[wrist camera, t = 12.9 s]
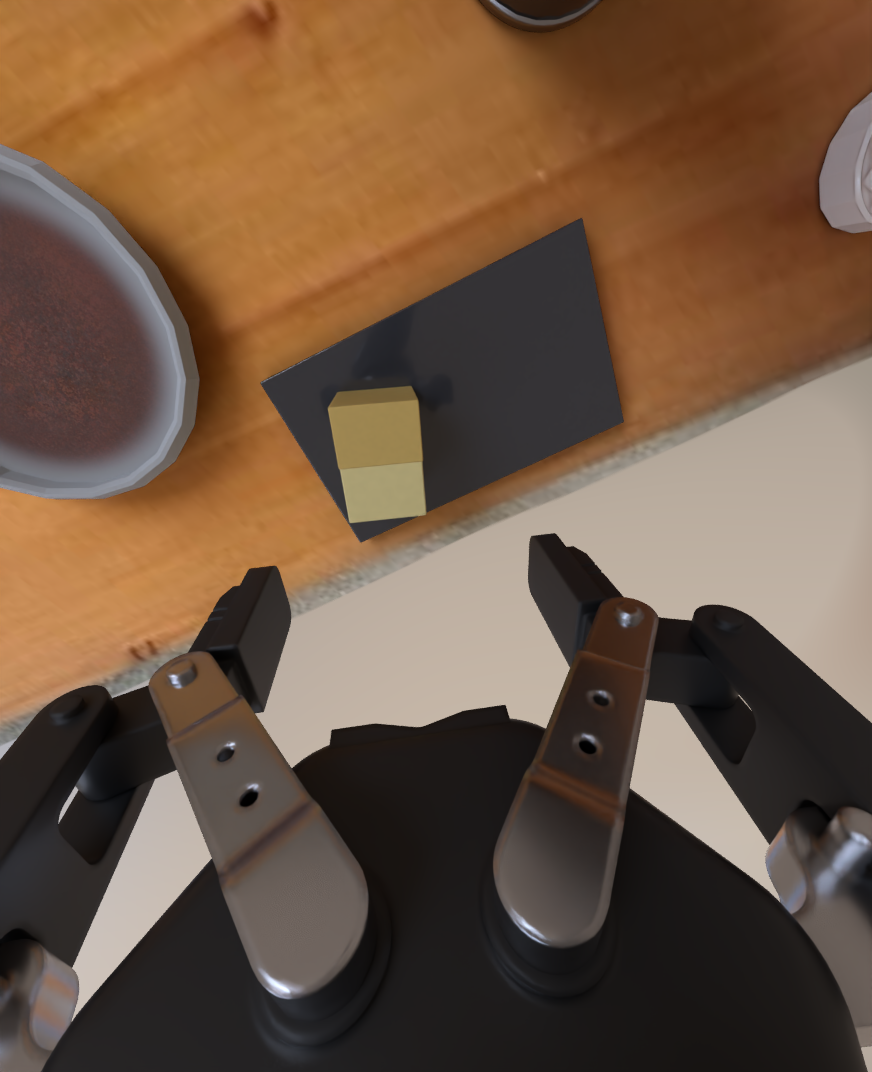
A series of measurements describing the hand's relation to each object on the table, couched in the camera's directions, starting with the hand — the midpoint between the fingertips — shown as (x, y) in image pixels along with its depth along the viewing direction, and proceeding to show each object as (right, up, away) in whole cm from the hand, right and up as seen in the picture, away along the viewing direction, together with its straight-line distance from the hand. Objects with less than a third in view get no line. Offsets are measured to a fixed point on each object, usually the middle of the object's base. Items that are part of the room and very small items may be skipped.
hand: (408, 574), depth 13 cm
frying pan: (-26, +10, +10) cm, 29 cm away
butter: (-3, +7, +13) cm, 15 cm away
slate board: (+2, +10, +14) cm, 17 cm away
